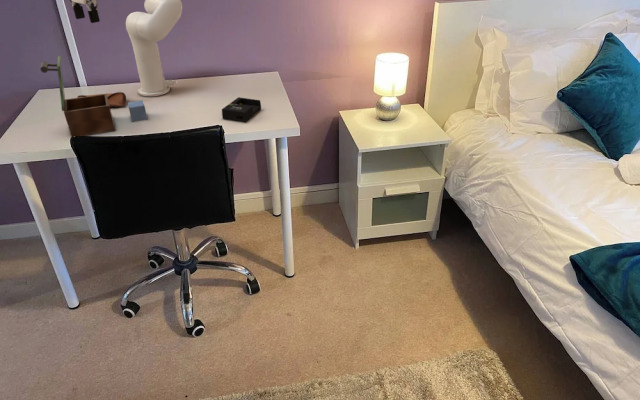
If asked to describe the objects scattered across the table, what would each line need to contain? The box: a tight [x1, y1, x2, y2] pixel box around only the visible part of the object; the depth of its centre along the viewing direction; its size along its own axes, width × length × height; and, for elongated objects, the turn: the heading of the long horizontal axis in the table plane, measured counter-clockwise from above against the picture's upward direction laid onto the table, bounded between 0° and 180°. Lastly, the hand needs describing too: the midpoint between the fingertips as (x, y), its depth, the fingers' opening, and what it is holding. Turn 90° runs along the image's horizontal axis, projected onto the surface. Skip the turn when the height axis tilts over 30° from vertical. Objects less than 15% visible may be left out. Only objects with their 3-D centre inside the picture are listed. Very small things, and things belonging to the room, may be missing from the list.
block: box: [127, 100, 148, 122], centre depth 178 cm, size 5×5×5 cm
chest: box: [63, 93, 116, 138], centre depth 170 cm, size 14×13×9 cm
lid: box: [40, 55, 66, 112], centre depth 160 cm, size 15×13×6 cm
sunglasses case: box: [76, 91, 128, 109], centre depth 189 cm, size 18×7×7 cm, turn 105°
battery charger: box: [221, 96, 262, 124], centre depth 180 cm, size 13×10×4 cm
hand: (87, 20), depth 171 cm, fingers open, 9 cm apart
